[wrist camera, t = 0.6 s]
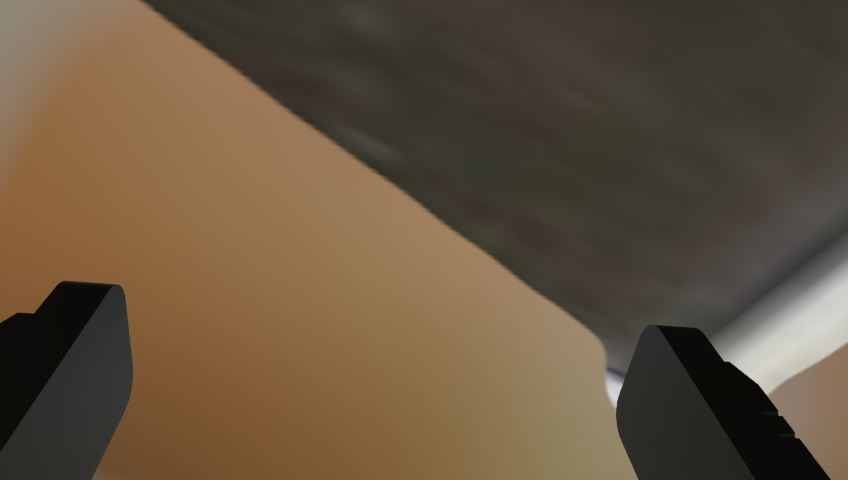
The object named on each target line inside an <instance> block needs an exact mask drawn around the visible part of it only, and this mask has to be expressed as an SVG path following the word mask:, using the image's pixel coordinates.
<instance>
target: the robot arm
mask: <svg viewBox="0 0 848 480" xmlns="http://www.w3.org/2000/svg"><path fill="white" fill-rule="evenodd" d="M132 379H133V364H132V355H131V346H130V336H129V327H128V319H127V309H126V300H125V295H124V291H123V289H122V287H121V286H120V285H117V284H104V283H89V282H75V281H62V282H60V283H59V284H58V285H57V286H56V287H55V288H54V290H53V291H52V292H51V294H50V295H49V296H48V297H47V298H46V300H45V301H44V302H43V303H42V305H41V306H40V307H39V308H38V309H37V311H36V312H35V313H34V314H31V313H30V314H29V313H16V314H15V315H13V316H11V317H10V318H8V319H6V320H5V321H3V322H1V323H0V480H91V479H92V477H93V475H94V472H95V471H96V469H97V467H98V465H99V462H100V460H101V459H102V456H103V454H104V452H105V450H106V448H107V446H108V444H109V442H110V440H111V438H112V436H113V434H114V432H115V430H116V428H117V426H118V424H119V421H120V420H121V418H122V415H123V413H124V411H125V409H126V406H127V404H128V401H129V397H130V393H131V387H132ZM616 420H617V427H618V432H619V435H620V438H621V440H622V443H623V445H624V447H625V450H626V452H627V454H628V457H629V459H630V461H631V463H632V466H633V468H634V470H635V473H636V475H637V477H638V479H639V480H831V479H830V478H829V477H828V475H827V474H826V473H825V472H824V470H823V469H822V468H821V466H820V465H819V464H818V462H817V461H816V460H815V458H814V457H813V456H812V454H811V453H810V452H809V450H808V449H807V448H806V447H805V445H804V444H803V443H802V441H801V440H800V439H799V438H795V432H794V431H793V429H792V428H791V427H790V426H789V424H788V423H787V422H786V420H785V419H784V418H783V416H778V410H777V409H776V407H775V406H774V404H773V403H772V402H771V401H770V399H769V398H768V397H767V395H766V394H765V393H764V391H763V390H762V389H761V387H760V386H759V385H758V384H757V383H756V382H754V381H753V380H752V379H750V378H749V377H748V376H747V375H745V374H744V373H743V372H742V371H740V370H739V369H738V368H737V367H735V366H734V365H733V364H731V363H730V362H724V361H723V359H722V358H721V357H720V355H719V354H718V353H717V351H716V350H715V348H714V347H713V346H712V344H711V343H710V342H709V340H708V339H707V337H706V336H705V335H704V334H703V332H702V331H700V330H699V329H697V328H687V327H673V326H660V325H649V326H647V327H646V328H645V329H644V330H643V332H642V334H641V336H640V338H639V341H638V344H637V347H636V350H635V352H634V355H633V358H632V361H631V364H630V366H629V369H628V372H627V375H626V377H625V380H624V383H623V386H622V389H621V391H620V394H619V397H618V402H617V409H616Z"/></svg>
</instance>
